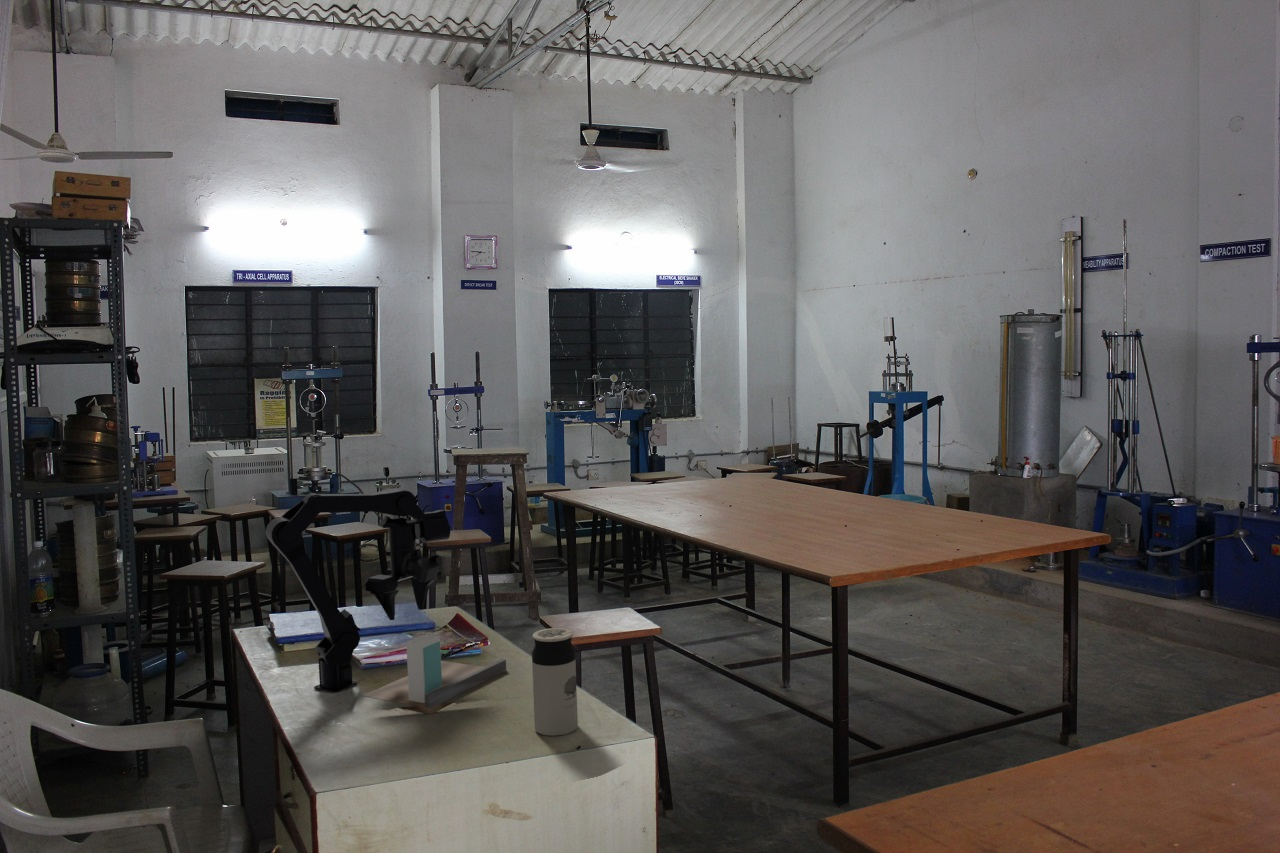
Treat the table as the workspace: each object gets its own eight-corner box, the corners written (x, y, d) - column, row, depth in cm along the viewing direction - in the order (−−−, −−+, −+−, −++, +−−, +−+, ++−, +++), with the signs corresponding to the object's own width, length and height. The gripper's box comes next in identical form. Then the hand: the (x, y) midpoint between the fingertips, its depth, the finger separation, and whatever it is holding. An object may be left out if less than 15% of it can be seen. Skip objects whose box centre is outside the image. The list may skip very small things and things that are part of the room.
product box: (409, 700, 191) (406, 641, 190) (427, 691, 196) (424, 634, 195) (425, 703, 189) (422, 643, 188) (443, 694, 194) (440, 636, 193)
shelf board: (362, 701, 195) (361, 684, 195) (442, 665, 217) (441, 650, 217) (430, 714, 186) (429, 696, 186) (506, 675, 208) (505, 659, 208)
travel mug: (526, 730, 177) (522, 634, 175) (557, 717, 182) (554, 625, 181) (554, 740, 171) (551, 642, 170) (586, 727, 177) (583, 632, 176)
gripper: (400, 556, 199) (405, 629, 200) (458, 539, 215) (461, 607, 216) (361, 552, 204) (365, 624, 205) (420, 537, 221) (424, 603, 222)
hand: (406, 614), depth 212 cm, fingers open, 9 cm apart
